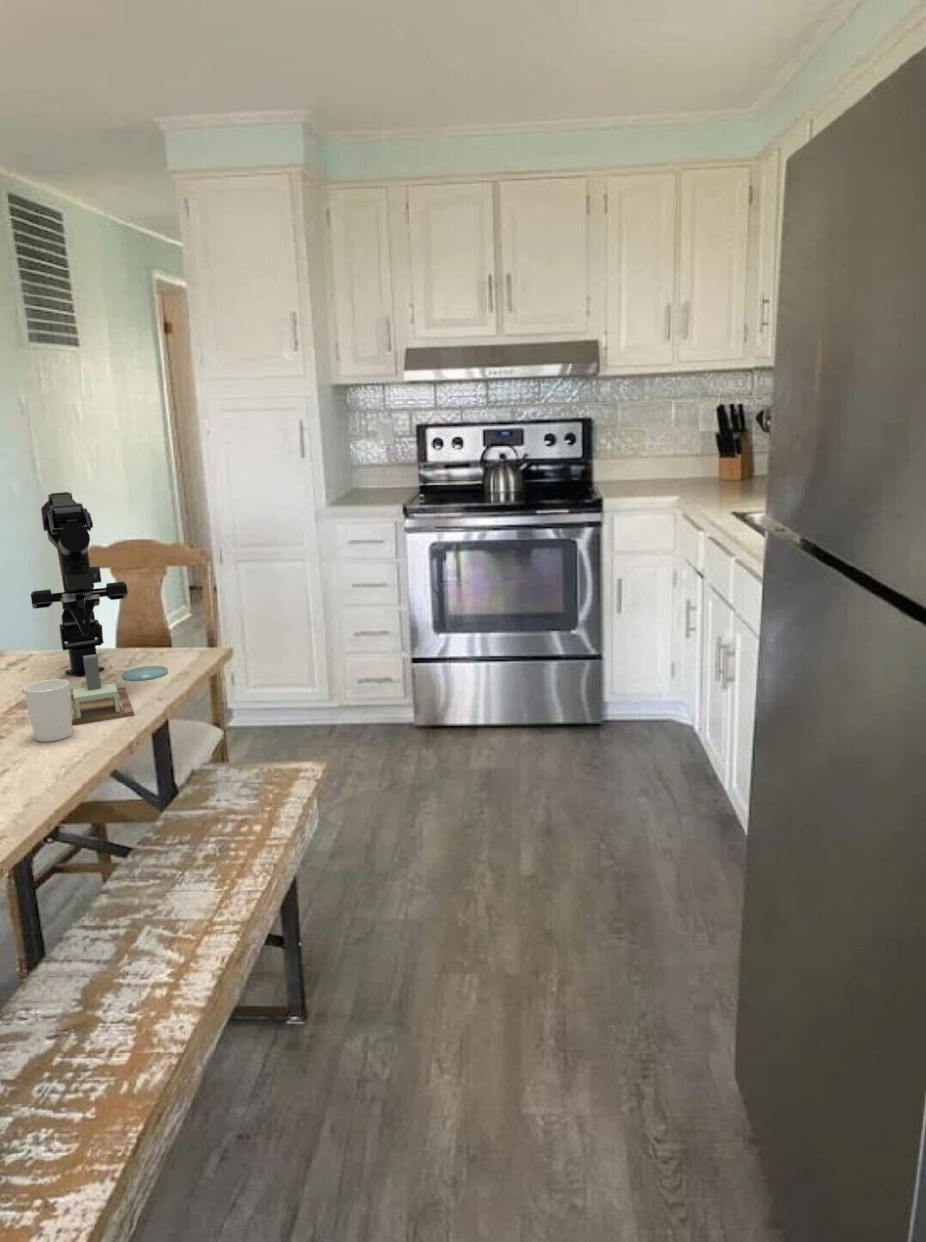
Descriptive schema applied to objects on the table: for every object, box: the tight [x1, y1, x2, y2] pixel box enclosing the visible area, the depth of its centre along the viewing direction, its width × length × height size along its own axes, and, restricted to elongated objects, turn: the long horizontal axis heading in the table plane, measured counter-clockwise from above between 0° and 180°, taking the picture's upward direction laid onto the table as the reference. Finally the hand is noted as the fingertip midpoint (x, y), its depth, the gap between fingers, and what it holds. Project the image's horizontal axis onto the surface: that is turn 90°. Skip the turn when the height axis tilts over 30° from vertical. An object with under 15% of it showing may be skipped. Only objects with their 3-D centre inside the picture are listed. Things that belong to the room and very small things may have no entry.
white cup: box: [23, 678, 74, 743], centre depth 185 cm, size 8×8×10 cm
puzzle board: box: [70, 686, 135, 726], centre depth 201 cm, size 19×13×1 cm
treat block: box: [81, 678, 105, 702], centre depth 206 cm, size 4×4×4 cm
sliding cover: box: [72, 654, 120, 718], centre depth 195 cm, size 6×8×11 cm
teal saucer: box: [121, 665, 169, 682], centre depth 225 cm, size 10×10×1 cm
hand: (85, 635), depth 206 cm, fingers closed
